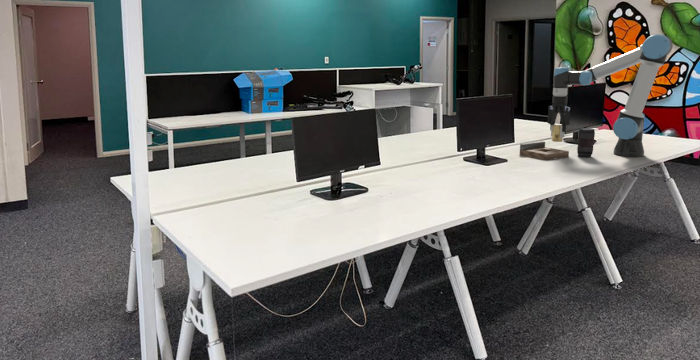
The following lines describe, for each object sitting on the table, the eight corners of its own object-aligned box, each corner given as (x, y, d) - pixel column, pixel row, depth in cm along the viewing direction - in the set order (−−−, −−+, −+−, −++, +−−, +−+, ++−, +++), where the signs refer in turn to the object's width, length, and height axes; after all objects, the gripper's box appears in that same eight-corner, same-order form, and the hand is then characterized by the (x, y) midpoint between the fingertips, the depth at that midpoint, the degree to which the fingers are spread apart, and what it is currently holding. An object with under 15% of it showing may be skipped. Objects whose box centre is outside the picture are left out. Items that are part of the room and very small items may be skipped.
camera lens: (589, 155, 306) (592, 128, 303) (594, 158, 298) (597, 130, 295) (574, 155, 307) (576, 127, 304) (578, 157, 299) (581, 129, 296)
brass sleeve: (564, 141, 316) (565, 125, 314) (558, 142, 313) (559, 126, 311) (556, 140, 320) (557, 124, 319) (549, 140, 318) (550, 125, 316)
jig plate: (568, 156, 302) (569, 145, 300) (546, 160, 293) (547, 148, 291) (541, 151, 317) (542, 141, 315) (519, 154, 307) (520, 144, 306)
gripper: (541, 95, 317) (539, 135, 322) (569, 96, 302) (566, 139, 307) (550, 94, 321) (548, 134, 326) (578, 96, 305) (575, 138, 310)
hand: (557, 136), depth 316 cm, fingers closed on brass sleeve, 5 cm apart
